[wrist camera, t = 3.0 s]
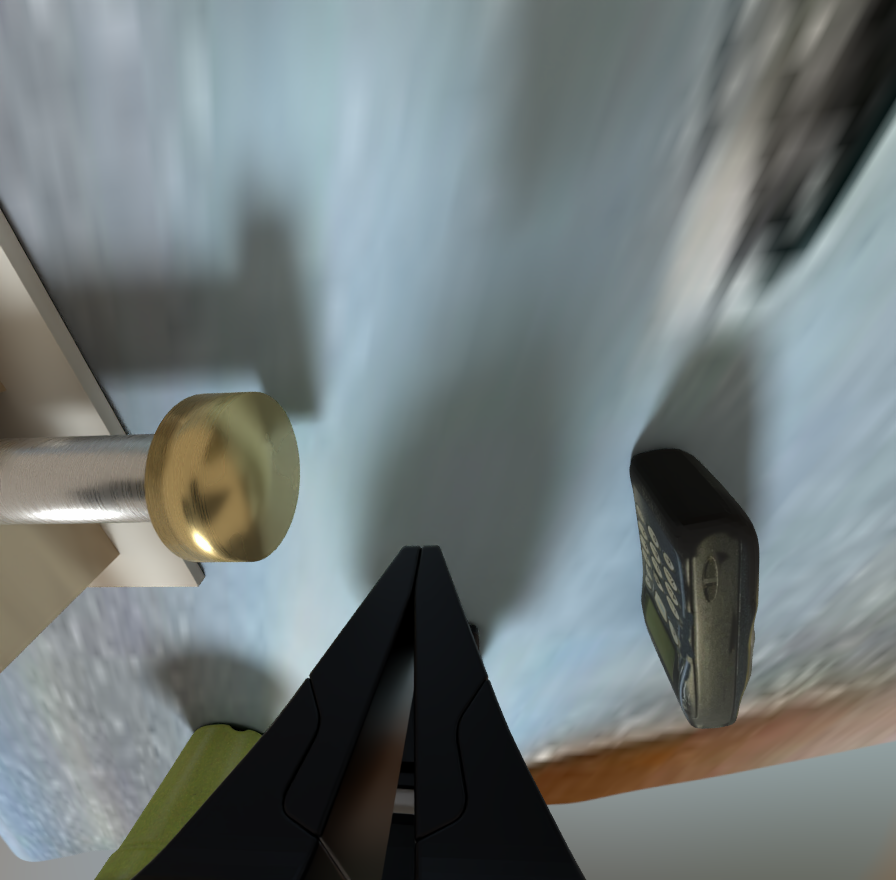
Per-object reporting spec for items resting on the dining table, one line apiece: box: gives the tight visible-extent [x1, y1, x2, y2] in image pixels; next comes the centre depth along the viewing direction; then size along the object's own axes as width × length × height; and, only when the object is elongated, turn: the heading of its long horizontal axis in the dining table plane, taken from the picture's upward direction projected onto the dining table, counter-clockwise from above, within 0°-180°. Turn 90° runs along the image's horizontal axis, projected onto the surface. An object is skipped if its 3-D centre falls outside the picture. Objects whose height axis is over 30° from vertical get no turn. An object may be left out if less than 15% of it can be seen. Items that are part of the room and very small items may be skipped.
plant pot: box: [95, 724, 262, 880], centre depth 27 cm, size 9×9×9 cm
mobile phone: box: [630, 449, 759, 729], centre depth 17 cm, size 5×3×15 cm
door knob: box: [0, 392, 300, 562], centre depth 13 cm, size 16×5×5 cm, turn 93°
